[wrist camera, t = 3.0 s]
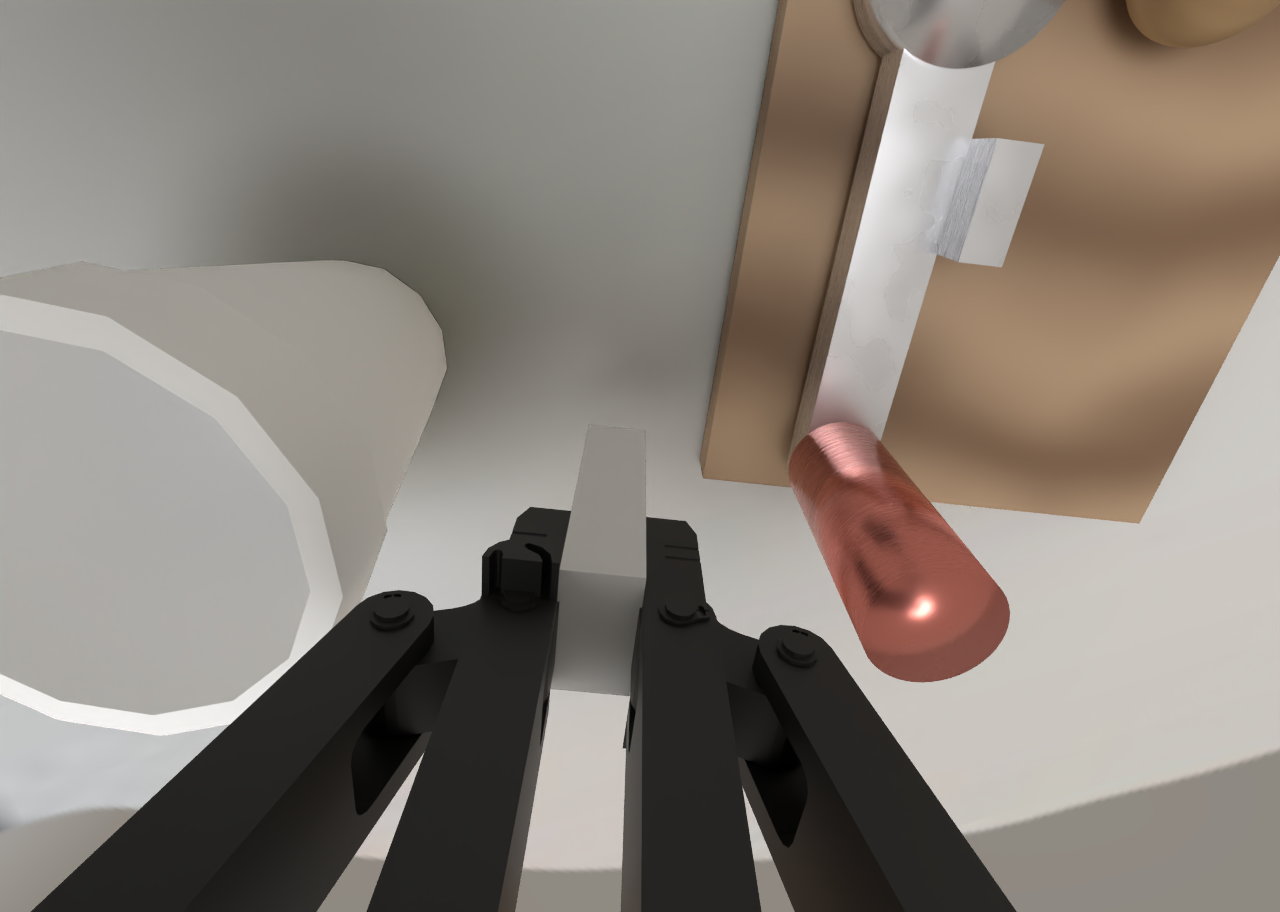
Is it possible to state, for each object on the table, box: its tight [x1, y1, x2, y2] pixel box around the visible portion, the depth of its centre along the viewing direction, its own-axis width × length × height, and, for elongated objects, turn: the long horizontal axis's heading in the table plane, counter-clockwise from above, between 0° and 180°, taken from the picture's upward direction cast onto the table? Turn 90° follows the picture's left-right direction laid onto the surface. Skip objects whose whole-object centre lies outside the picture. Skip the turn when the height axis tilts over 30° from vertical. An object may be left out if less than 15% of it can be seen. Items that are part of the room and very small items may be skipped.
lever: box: [785, 0, 1065, 682], centre depth 15 cm, size 18×5×10 cm, turn 173°
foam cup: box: [0, 260, 447, 736], centre depth 18 cm, size 10×9×13 cm
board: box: [700, 0, 1280, 523], centre depth 19 cm, size 22×17×5 cm
